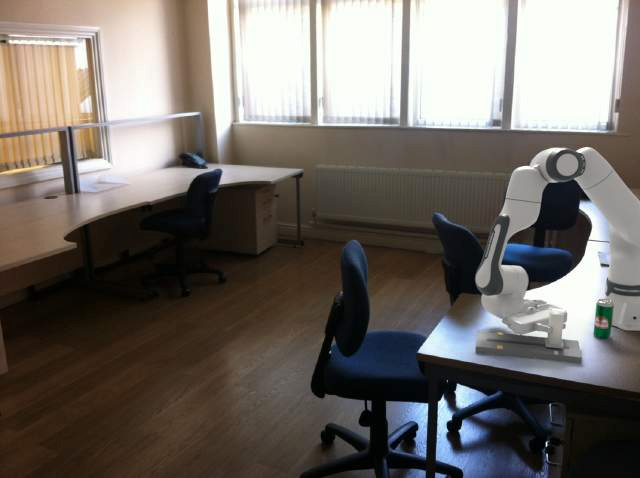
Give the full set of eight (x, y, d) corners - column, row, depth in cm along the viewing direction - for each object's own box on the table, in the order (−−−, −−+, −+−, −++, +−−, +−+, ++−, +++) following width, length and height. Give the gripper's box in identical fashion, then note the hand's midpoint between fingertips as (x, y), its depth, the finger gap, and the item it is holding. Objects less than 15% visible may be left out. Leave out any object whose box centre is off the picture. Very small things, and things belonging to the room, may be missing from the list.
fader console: (577, 346, 196) (578, 339, 196) (581, 363, 185) (581, 356, 184) (477, 336, 205) (478, 330, 204) (475, 352, 194) (475, 345, 193)
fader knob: (562, 341, 194) (565, 311, 191) (563, 348, 189) (566, 317, 186) (544, 340, 195) (547, 309, 192) (545, 346, 190) (548, 315, 188)
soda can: (590, 336, 203) (594, 301, 200) (597, 331, 207) (600, 297, 203) (606, 341, 200) (610, 305, 197) (613, 336, 203) (616, 300, 200)
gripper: (499, 310, 196) (533, 325, 184) (546, 298, 205) (582, 312, 194) (497, 329, 198) (531, 345, 186) (545, 316, 207) (580, 331, 195)
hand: (557, 328), depth 190 cm, fingers closed on fader knob, 4 cm apart
